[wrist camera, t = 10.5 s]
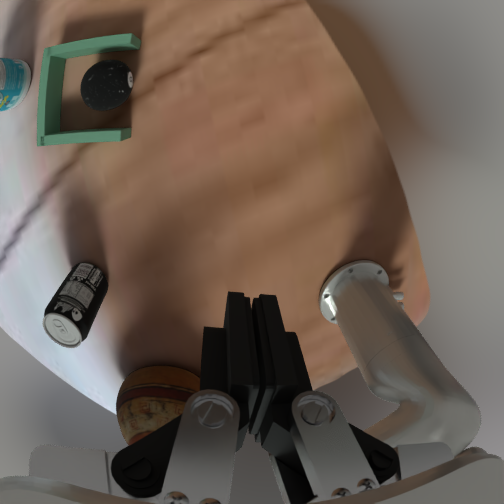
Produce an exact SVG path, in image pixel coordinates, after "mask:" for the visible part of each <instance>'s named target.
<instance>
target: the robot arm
mask: <svg viewBox="0 0 504 504" xmlns="http://www.w3.org/2000/svg"><path fill="white" fill-rule="evenodd" d="M403 297H404V294H403V292H393V291H392V290H391V288H390V287H389V278H388V275H387V273H386V272H385V270H384V269H383V268H382V267H381V266H380V265H379V264H377V263H376V262H373V261H370V260H359V261H354V262H351V263H348V264H346V265H344V266H342V267H341V268H339V269H338V270H336V271H335V272H334V273H333V274H332V275H331V276H330V277H329V278H328V279H327V281H326V282H325V284H324V285H323V287H322V289H321V292H320V295H319V307H320V310H321V312H322V314H323V316H324V317H325V318H326V319H327V320H328V321H330V322H332V323H334V324H338V325H339V327H340V329H341V331H342V333H343V335H344V337H345V340H346V342H347V344H348V346H349V348H350V350H351V352H352V354H353V356H354V358H355V360H356V363H357V365H358V367H359V369H360V371H361V373H362V375H363V378H364V380H365V382H366V384H367V386H368V387H369V389H370V390H371V392H372V393H373V394H374V395H376V396H377V397H379V398H381V399H383V400H386V401H389V402H393V403H397V404H400V406H399V408H398V409H397V410H395V411H394V412H392V413H391V414H390V415H389V416H387V417H386V418H384V419H383V420H381V421H379V422H378V423H376V424H374V425H373V426H371V427H369V428H367V429H366V430H364V431H362V430H360V429H358V428H357V427H355V426H353V425H351V424H349V423H348V422H347V420H346V418H345V417H344V415H343V413H342V411H341V409H340V407H339V405H338V404H337V402H336V401H335V400H334V399H333V398H332V397H331V396H329V395H328V394H325V393H323V392H319V391H313V390H312V386H311V383H310V379H309V376H308V372H307V369H306V365H305V362H304V358H303V355H302V351H301V348H300V344H299V341H298V337H297V335H296V333H295V332H285V329H284V325H283V321H282V317H281V313H280V309H279V305H278V301H277V297H276V295H265V294H260V295H259V298H254V299H253V303H252V308H251V304H250V298H249V297H244V293H240V292H229V291H228V295H227V303H226V311H225V319H224V327H223V328H215V327H204V332H203V345H202V359H201V375H200V391H199V392H196V393H194V394H193V395H192V396H191V397H190V398H188V400H187V402H186V404H185V407H184V410H183V413H182V414H181V415H179V416H178V417H176V418H175V419H173V420H171V421H170V422H168V423H167V424H165V425H163V426H162V427H160V428H158V429H157V430H155V431H153V432H152V433H150V434H148V435H147V436H145V437H143V438H142V439H140V440H138V441H136V442H135V443H133V444H131V445H129V446H128V447H126V448H124V449H122V450H121V451H119V452H106V451H105V450H98V449H82V448H71V447H62V446H54V445H40V446H38V447H36V448H35V449H34V450H33V451H32V453H31V456H30V463H29V476H9V477H4V478H1V479H0V504H229V497H230V490H231V482H232V475H233V467H234V459H235V452H237V451H238V450H239V449H240V448H241V447H242V444H243V441H244V438H245V435H246V432H247V429H248V428H249V434H255V442H261V446H262V448H264V449H265V450H266V451H268V452H269V459H270V462H271V465H272V468H273V471H274V474H275V477H276V480H277V483H278V487H279V489H280V492H281V495H282V498H283V501H284V504H504V461H503V460H502V459H501V458H500V457H498V456H496V455H493V454H488V453H487V452H486V451H485V450H483V449H482V448H479V447H470V448H468V449H465V448H466V447H467V446H468V445H469V444H470V443H471V442H472V441H473V439H474V438H475V436H476V435H477V433H478V431H479V428H480V425H481V413H480V410H479V407H478V406H477V404H476V402H475V400H474V399H473V398H472V397H471V395H470V394H469V393H468V392H467V391H466V390H465V389H464V387H462V385H461V384H460V383H459V382H458V381H457V380H456V379H455V378H454V377H453V375H452V374H451V373H450V372H449V371H448V370H447V368H446V367H445V366H444V365H443V363H442V362H441V361H440V359H439V358H438V357H437V355H436V354H435V352H434V351H433V350H432V348H431V347H430V346H429V344H428V343H427V341H426V340H425V339H424V337H423V336H422V334H421V333H420V331H419V330H418V329H417V327H416V326H415V325H414V323H413V322H412V320H411V319H410V318H409V316H408V315H407V314H406V312H405V311H404V304H403V303H402V302H397V300H402V299H403ZM464 449H465V450H464Z"/></svg>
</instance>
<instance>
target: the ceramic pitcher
mask: <svg viewBox="0 0 504 504" xmlns="http://www.w3.org/2000/svg"><path fill="white" fill-rule="evenodd" d="M199 391H200V378H199V377H197V376H196V375H194V374H193V373H191V372H189V371H186V370H184V369H181V368H176V367H171V366H151V367H145V368H141V369H138V370H136V371H134V372H132V373H131V374H130V375H129V376H128V377H127V378H126V379H125V380H124V382H123V383H122V385H121V387H120V390H119V393H118V396H117V402H116V411H117V418H118V422H119V426H120V429H121V432H122V435H123V437H124V439H125V441H126V442H127V444H128V445H131V444H133V443H135V442H136V441H138V440H140V439H142V438H143V437H145V436H147V435H148V434H150V433H152V432H153V431H155V430H157V429H158V428H160V427H162V426H163V425H165V424H167V423H168V422H170V421H171V420H173V419H175V418H176V417H178V416H179V415H181V414H182V413H183V410H184V407H185V404H186V402H187V400H188V398H190V397H191V396H192V395H193V394H194V393H196V392H199Z"/></svg>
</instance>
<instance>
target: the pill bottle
mask: <svg viewBox="0 0 504 504" xmlns="http://www.w3.org/2000/svg"><path fill="white" fill-rule="evenodd" d="M30 81H31V71H30V68H29V66H28V64H27V63H26V62H25V61H23V60H19V59H8V58H0V111H5V110H10V109H12V108H14V107H16V106H17V105H18V104H20V103H21V101H22V100H23V99H24V97H25V96H26V94H27V92H28V89H29V86H30Z"/></svg>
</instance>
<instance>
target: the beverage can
mask: <svg viewBox="0 0 504 504" xmlns="http://www.w3.org/2000/svg"><path fill="white" fill-rule="evenodd" d="M107 290H108V282H107V279H106V277H105V275H104V273H103V272H102V271H101V270H100V269H99V268H98V267H96V266H95V265H92V264H89V263H79V264H77V265H75V266H74V267H73V268H72V270H71V271H70V273H69V274H68V275H67V277H66V278H65V280H64V281H63V283H62V284H61V286H60V287H59V289H58V290H57V292H56V293H55V295H54V296H53V298H52V299H51V301H50V302H49V304H48V306H47V307H46V309H45V313H44V319H43V327H44V330H45V332H46V333H47V335H48V336H49V337H50V338H51V339H52V340H53V341H54V342H56V343H57V344H59V345H61V346H63V347H67V348H76V347H78V346H79V345H80V344H81V342H82V341H83V340H85V339H86V337H87V335H88V333H89V331H90V328H91V326H92V324H93V321H94V319H95V317H96V315H97V312H98V310H99V308H100V306H101V304H102V301H103V299H104V297H105V295H106V293H107Z"/></svg>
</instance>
